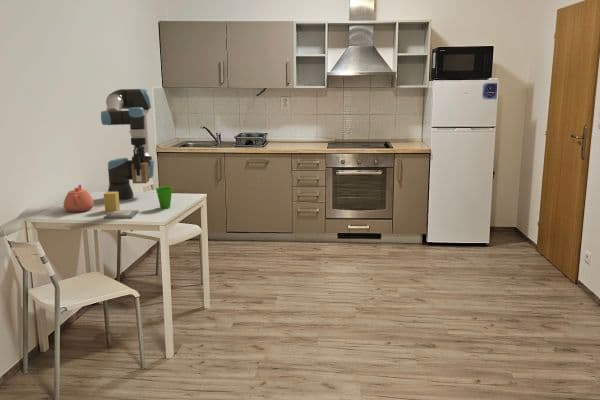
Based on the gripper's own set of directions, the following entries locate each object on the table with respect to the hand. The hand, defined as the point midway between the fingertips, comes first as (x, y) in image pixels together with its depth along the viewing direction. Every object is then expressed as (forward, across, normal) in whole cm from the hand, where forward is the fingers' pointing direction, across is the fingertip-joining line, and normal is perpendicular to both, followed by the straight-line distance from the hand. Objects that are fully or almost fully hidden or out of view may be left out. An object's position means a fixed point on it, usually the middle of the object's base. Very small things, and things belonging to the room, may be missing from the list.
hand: (140, 180), depth 293 cm
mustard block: (+16, +1, -16) cm, 23 cm away
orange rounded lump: (+17, -3, -35) cm, 39 cm away
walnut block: (+1, 0, 0) cm, 1 cm away
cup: (+17, -5, +11) cm, 21 cm away
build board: (+16, +12, -8) cm, 22 cm away
